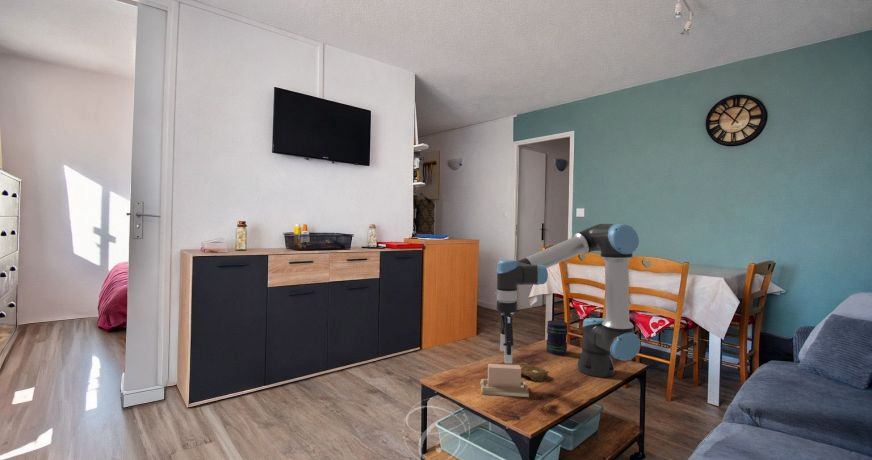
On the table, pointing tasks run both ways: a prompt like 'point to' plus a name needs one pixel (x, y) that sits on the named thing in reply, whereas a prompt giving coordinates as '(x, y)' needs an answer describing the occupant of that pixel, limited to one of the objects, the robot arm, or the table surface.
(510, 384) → the clay block
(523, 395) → the cream rectangular tray
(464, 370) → the table surface
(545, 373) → the decorative rock
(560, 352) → the storage jar
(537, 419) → the table surface
